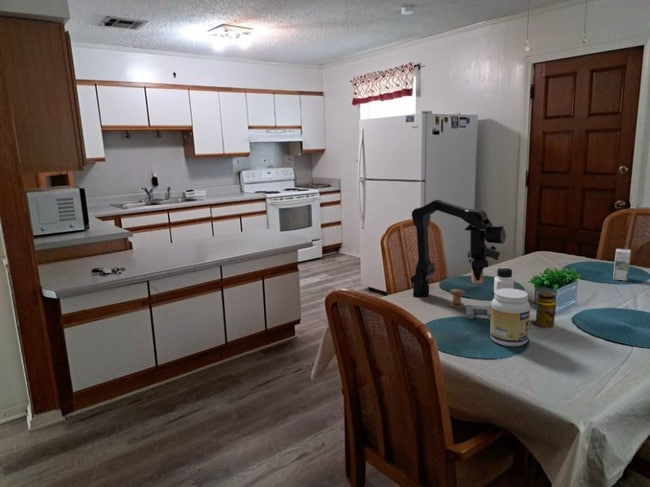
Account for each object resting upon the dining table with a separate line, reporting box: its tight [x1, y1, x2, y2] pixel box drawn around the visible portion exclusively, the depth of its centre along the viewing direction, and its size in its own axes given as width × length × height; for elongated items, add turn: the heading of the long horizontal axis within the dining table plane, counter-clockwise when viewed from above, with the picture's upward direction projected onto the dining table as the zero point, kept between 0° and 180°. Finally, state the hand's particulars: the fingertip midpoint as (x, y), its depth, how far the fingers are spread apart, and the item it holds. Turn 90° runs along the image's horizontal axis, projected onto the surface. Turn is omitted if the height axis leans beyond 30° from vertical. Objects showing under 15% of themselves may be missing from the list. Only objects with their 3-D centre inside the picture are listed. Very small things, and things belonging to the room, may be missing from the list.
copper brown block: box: [471, 268, 484, 284], centre depth 184 cm, size 4×4×6 cm
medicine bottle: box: [493, 267, 515, 294], centre depth 198 cm, size 7×7×12 cm
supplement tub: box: [489, 288, 531, 347], centre depth 152 cm, size 12×12×17 cm
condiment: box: [529, 292, 557, 331], centre depth 164 cm, size 7×8×12 cm
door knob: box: [448, 288, 466, 309], centre depth 187 cm, size 6×6×6 cm
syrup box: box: [612, 248, 631, 282], centre depth 213 cm, size 6×6×14 cm
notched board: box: [464, 304, 491, 321], centre depth 177 cm, size 10×10×2 cm
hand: (477, 278), depth 184 cm, fingers closed on copper brown block, 4 cm apart
